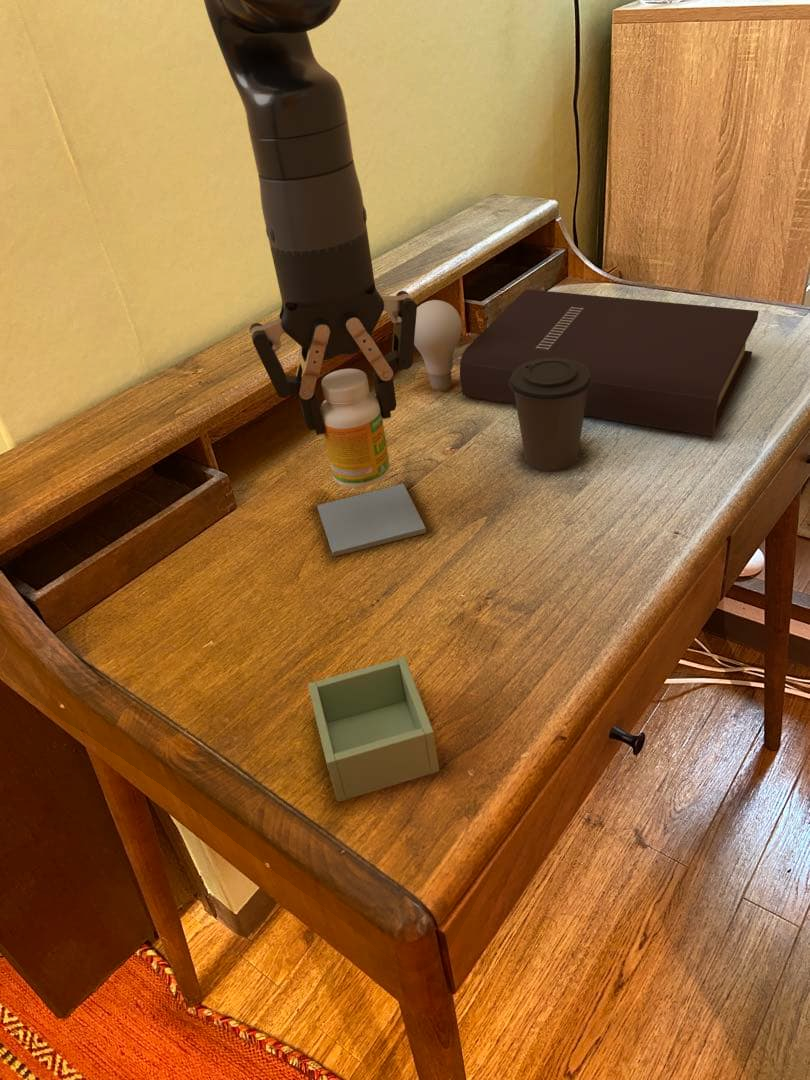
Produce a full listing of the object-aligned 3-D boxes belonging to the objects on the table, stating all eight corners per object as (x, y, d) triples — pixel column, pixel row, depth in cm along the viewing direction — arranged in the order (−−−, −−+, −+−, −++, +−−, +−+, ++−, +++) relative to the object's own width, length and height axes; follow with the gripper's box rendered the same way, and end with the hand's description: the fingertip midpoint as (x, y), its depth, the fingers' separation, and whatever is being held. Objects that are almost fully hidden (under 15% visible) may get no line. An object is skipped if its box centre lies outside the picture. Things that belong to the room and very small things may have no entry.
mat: (333, 557, 76) (332, 552, 76) (318, 509, 82) (317, 505, 82) (426, 532, 77) (425, 527, 77) (404, 488, 83) (403, 483, 83)
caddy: (337, 802, 55) (326, 763, 53) (318, 722, 61) (307, 683, 58) (439, 771, 56) (433, 731, 54) (411, 695, 62) (404, 655, 59)
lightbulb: (440, 373, 102) (432, 287, 95) (477, 386, 98) (471, 298, 91) (405, 393, 99) (394, 306, 92) (442, 407, 95) (433, 318, 88)
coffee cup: (504, 442, 88) (500, 356, 82) (579, 431, 88) (581, 344, 82) (520, 484, 81) (516, 395, 75) (600, 472, 81) (604, 381, 75)
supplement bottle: (389, 487, 74) (373, 390, 68) (330, 492, 74) (309, 397, 68) (391, 454, 78) (376, 361, 72) (335, 459, 78) (316, 367, 72)
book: (461, 403, 95) (457, 356, 92) (526, 332, 108) (525, 289, 104) (710, 444, 83) (717, 392, 79) (751, 359, 96) (758, 310, 92)
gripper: (395, 198, 66) (417, 386, 77) (219, 234, 64) (266, 421, 75) (421, 224, 60) (441, 423, 71) (228, 264, 58) (278, 463, 69)
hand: (351, 421), depth 73 cm, fingers closed on supplement bottle, 5 cm apart
